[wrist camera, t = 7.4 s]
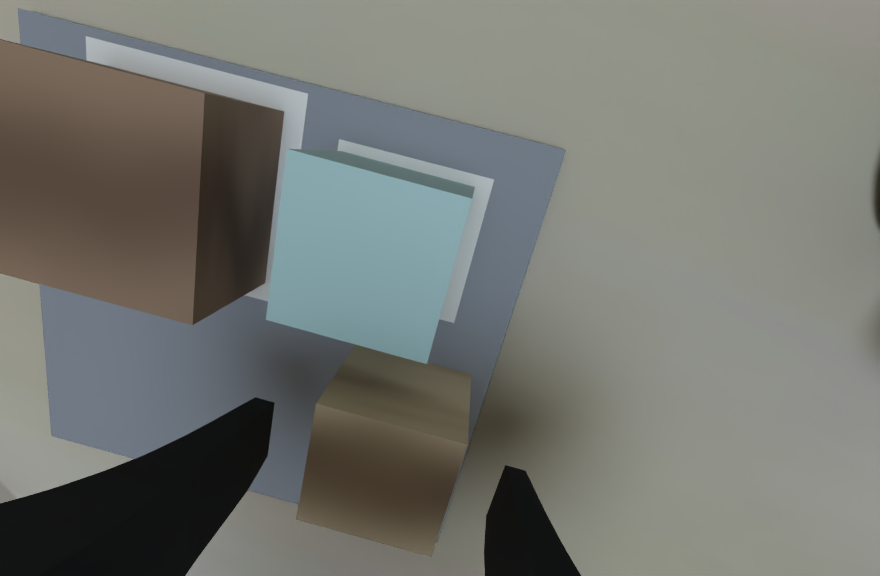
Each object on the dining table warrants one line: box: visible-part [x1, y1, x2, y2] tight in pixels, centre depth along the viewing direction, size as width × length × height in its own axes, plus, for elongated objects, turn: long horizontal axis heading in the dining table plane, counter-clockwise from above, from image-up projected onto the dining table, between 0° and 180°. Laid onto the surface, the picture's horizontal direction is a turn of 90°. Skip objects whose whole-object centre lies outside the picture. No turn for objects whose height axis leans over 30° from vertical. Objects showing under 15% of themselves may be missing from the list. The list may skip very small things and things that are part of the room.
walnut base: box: [0, 39, 284, 325], centre depth 12 cm, size 6×6×4 cm
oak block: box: [296, 345, 471, 557], centre depth 14 cm, size 4×4×4 cm
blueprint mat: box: [18, 8, 566, 542], centre depth 16 cm, size 17×18×1 cm
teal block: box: [266, 149, 475, 364], centre depth 12 cm, size 4×4×4 cm
